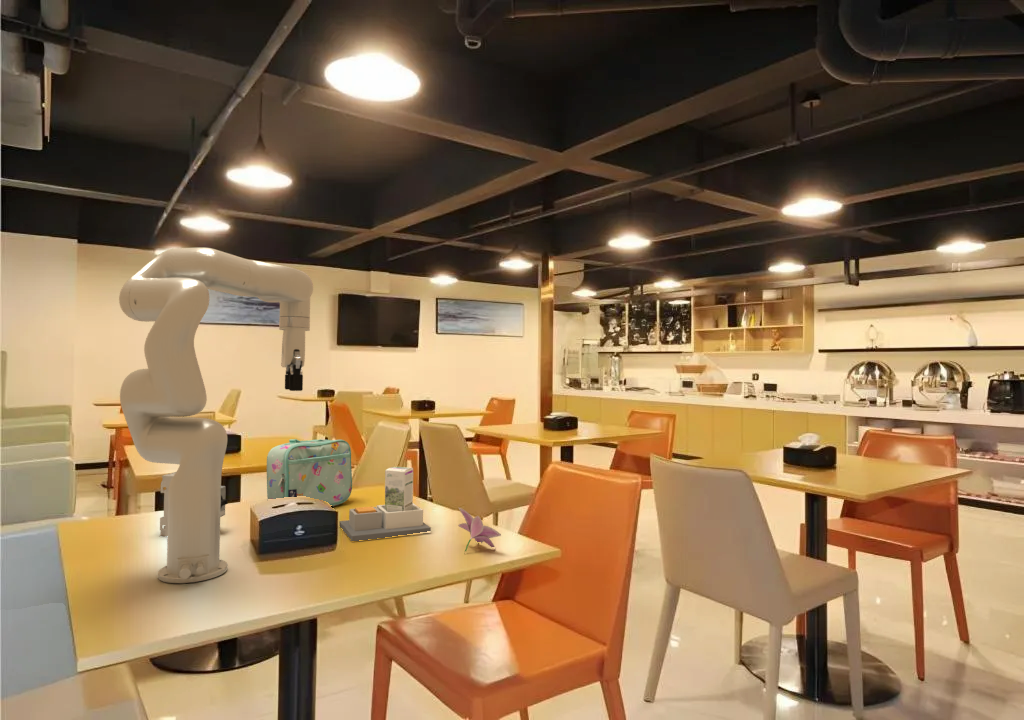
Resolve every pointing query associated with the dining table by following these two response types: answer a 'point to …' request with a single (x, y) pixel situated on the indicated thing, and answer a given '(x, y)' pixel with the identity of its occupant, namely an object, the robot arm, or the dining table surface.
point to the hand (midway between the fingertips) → (293, 390)
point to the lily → (478, 529)
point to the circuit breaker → (164, 520)
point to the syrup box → (398, 489)
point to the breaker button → (364, 510)
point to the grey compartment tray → (383, 523)
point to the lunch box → (310, 470)
